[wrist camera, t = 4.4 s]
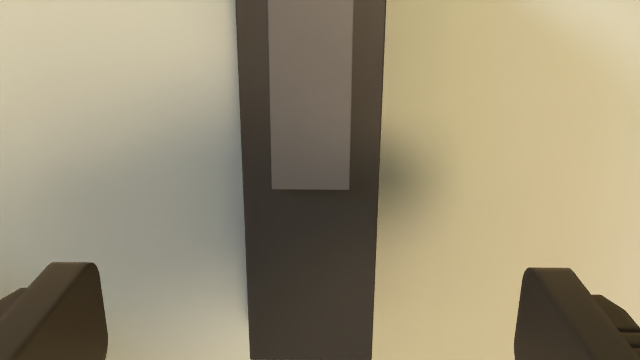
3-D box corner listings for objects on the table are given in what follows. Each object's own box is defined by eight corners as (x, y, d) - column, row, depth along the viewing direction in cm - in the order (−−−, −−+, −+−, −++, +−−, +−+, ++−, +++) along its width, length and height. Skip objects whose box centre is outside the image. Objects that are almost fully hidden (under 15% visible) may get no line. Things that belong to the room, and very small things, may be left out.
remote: (258, 313, 26) (249, 363, 23) (244, -96, 21) (229, -106, 17) (366, 314, 26) (371, 364, 23) (380, -96, 21) (391, -105, 17)
